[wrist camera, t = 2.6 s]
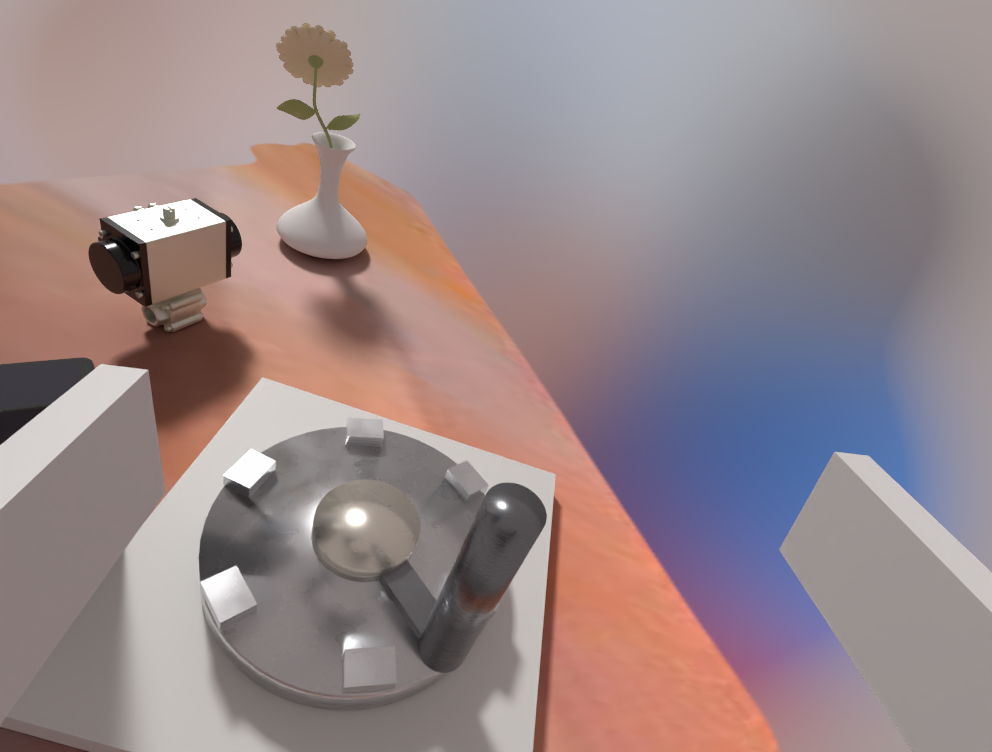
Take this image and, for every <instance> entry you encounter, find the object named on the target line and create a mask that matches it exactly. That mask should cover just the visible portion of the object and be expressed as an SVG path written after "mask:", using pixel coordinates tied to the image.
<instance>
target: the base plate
mask: <svg viewBox="0 0 992 752" xmlns="http://www.w3.org/2000/svg"><path fill="white" fill-rule="evenodd" d="M347 417H350V418H363V419H377V420H383V430H386V431H391V432H395V433H399V434H402V435H406V436H408V437H411V438H414V439H416V440H419V441H421V442H423V443H425V444H427V445H429V446H431V447H433V448H435V449H437V450H438V451H440V452H441V453H443V454H445V455H446V456H448V457H449V458H450V459H452V460H453V461H454V462H455V463H457V464H460V463H462V462H464V461H468V462H469V463H470V464H471V465H472V466H473V468H474V469H475V470H476V471H477V472H478V473H479V474H480V476H481V477H482V478H483V479H484V480H485V481H486V482H487V484H488V485H489V487H488V489H487V491H486V493H487V492H488V490H489V489H490V488H491V487H493V486H495V485H497V484H499V483H506V482H510V483H516V484H520V485H522V486H525V487H527V488H528V489H530V490H531V491H533V492H534V493H535V494H536V495H537V496H538V497H539V498H540V500H541V501H542V503H543V504H544V507H545V509H546V514H547V520H546V524H545V526H544V528H543V530H542V532H541V533H540V535H539V537H538V538H537V540H536V542H535V543H534V545H533V546H532V548H531V550H530V551H529V553H528V555H527V556H526V558H525V560H524V561H523V563H522V565H521V566H520V568H519V570H518V571H517V573H516V575H515V576H514V578H513V580H512V581H511V583H510V585H509V586H508V588H507V590H506V591H505V593H504V595H503V596H502V598H501V600H500V602H499V605H498V607H497V610H496V612H495V614H494V616H493V617H492V619H491V618H490V619H489V620H488V622H487V624H486V626H485V627H484V629H483V631H482V632H481V634H480V636H479V637H478V639H477V641H476V642H475V644H474V646H473V647H472V648H471V650H470V651H469V653H468V655H467V656H466V658H465V660H464V661H463V663H462V664H461V666H459V667H458V668H457V669H456V670H454V671H452V672H449V673H448V674H447V675H446V676H445V677H443V678H442V679H440V680H439V681H438V682H436V683H435V684H434V685H432V686H431V687H429V688H427V689H425V690H423V691H421V692H420V693H418V694H416V695H414V696H412V697H409V698H407V699H404V700H401V701H398V702H396V703H393V704H390V705H385V706H380V707H376V708H371V709H362V710H349V711H343V710H328V709H319V708H315V707H310V706H305V705H301V704H298V703H295V702H292V701H290V700H287V699H284V698H282V697H279V696H277V695H275V694H273V693H271V692H270V691H268V690H266V689H264V688H262V687H261V686H259V685H257V684H256V683H255V682H253V681H252V680H251V679H250V678H248V677H247V676H246V675H245V674H243V673H242V672H241V671H240V670H239V669H238V668H237V667H236V666H235V665H234V664H233V663H232V662H231V660H230V659H229V658H228V657H227V656H226V655H225V653H224V652H223V650H222V649H221V647H220V646H219V644H218V643H217V641H216V640H215V638H214V636H213V634H212V631H211V629H210V627H209V625H208V622H207V620H206V617H205V613H204V609H203V605H202V601H201V590H200V575H199V549H200V539H201V535H202V531H203V527H204V523H205V520H206V518H207V516H208V513H209V511H210V509H211V506H212V504H213V503H214V501H215V499H216V498H217V496H218V494H219V493H220V491H221V490H222V488H223V487H224V486H225V485H223V475H224V474H225V473H226V472H227V471H228V470H229V469H230V468H232V467H233V466H234V465H235V464H236V463H237V462H238V461H239V460H240V459H241V458H242V457H243V456H244V455H245V454H246V453H247V452H248V451H249V450H250V449H253V450H255V451H257V452H259V453H261V452H263V451H264V450H266V449H268V448H270V447H272V446H273V445H275V444H277V443H280V442H282V441H284V440H287V439H289V438H291V437H294V436H297V435H301V434H304V433H307V432H311V431H316V430H321V429H328V428H337V427H346V422H347ZM555 475H556V474H553V473H550V472H547V471H544V470H541V469H538V468H535V467H532V466H529V465H526V464H523V463H520V462H517V461H514V460H511V459H508V458H505V457H502V456H499V455H496V454H493V453H490V452H487V451H484V450H481V449H478V448H474V447H471V446H468V445H465V444H462V443H459V442H456V441H453V440H450V439H447V438H444V437H441V436H438V435H435V434H432V433H429V432H426V431H423V430H420V429H417V428H414V427H411V426H408V425H405V424H402V423H399V422H396V421H393V420H390V419H387V418H384V417H381V416H378V415H375V414H372V413H369V412H366V411H363V410H360V409H357V408H354V407H351V406H348V405H345V404H342V403H339V402H336V401H333V400H330V399H327V398H324V397H320V396H317V395H314V394H311V393H308V392H305V391H302V390H299V389H296V388H293V387H290V386H287V385H284V384H281V383H278V382H275V381H272V380H269V379H266V378H263V377H262V379H261V380H260V381H259V382H258V384H257V385H256V386H255V387H254V388H253V390H252V391H251V392H250V393H249V395H248V396H247V397H246V398H245V400H244V401H243V402H242V403H241V404H240V406H239V407H238V408H237V409H236V411H235V412H234V413H233V414H232V415H231V417H230V418H229V419H228V420H227V422H226V423H225V424H224V425H223V427H222V428H221V429H220V430H219V431H218V433H217V434H216V435H215V436H214V438H213V439H212V440H211V441H210V442H209V444H208V445H207V446H206V447H205V449H204V450H203V451H202V452H201V454H200V455H199V456H198V457H197V458H196V460H195V461H194V462H193V463H192V465H191V466H190V467H189V468H188V470H187V471H186V472H185V473H184V474H183V476H182V477H181V478H180V479H179V481H178V482H177V483H176V484H175V485H174V487H173V488H172V489H171V490H170V492H169V493H168V494H167V495H166V497H165V498H164V499H163V500H162V501H161V503H160V504H159V505H158V506H157V508H156V509H155V510H154V511H153V512H152V514H151V515H150V516H149V517H148V519H147V520H146V521H145V522H144V524H143V525H142V526H141V527H140V529H139V530H138V532H137V533H136V534H135V536H134V537H133V539H132V540H131V541H130V543H129V544H128V546H127V547H126V549H125V550H124V551H123V553H122V554H121V556H120V557H119V558H118V560H117V561H116V563H115V564H114V565H113V567H112V568H111V570H110V571H109V572H108V574H107V575H106V577H105V578H104V580H103V581H102V582H101V584H100V585H99V587H98V588H97V589H96V591H95V592H94V594H93V595H92V596H91V598H90V599H89V601H88V602H87V604H86V605H85V606H84V608H83V609H82V611H81V612H80V613H79V615H78V616H77V618H76V619H75V620H74V622H73V623H72V625H71V626H70V627H69V629H68V630H67V632H66V633H65V635H64V636H63V637H62V639H61V640H60V642H59V643H58V644H57V646H56V647H55V649H54V650H53V651H52V653H51V654H50V656H49V657H48V658H47V660H46V661H45V663H44V664H43V666H42V667H41V668H40V670H39V671H38V673H37V674H36V675H35V677H34V678H33V680H32V681H31V682H30V684H29V685H28V687H27V688H26V689H25V691H24V692H23V694H22V695H21V697H20V698H19V699H18V701H17V702H16V704H15V705H14V706H13V708H12V709H11V711H10V712H9V713H8V715H7V716H6V718H5V719H4V721H3V722H2V723H1V725H0V727H3V728H6V729H10V730H14V731H17V732H21V733H24V734H28V735H31V736H35V737H39V738H42V739H46V740H49V741H53V742H56V743H60V744H64V745H67V746H71V747H74V748H78V749H81V750H85V751H89V752H533V742H534V730H535V718H536V706H537V694H538V682H539V670H540V657H541V645H542V633H543V621H544V609H545V597H546V584H547V572H548V560H549V548H550V536H551V524H552V511H553V499H554V487H555ZM486 493H485V495H486Z"/></svg>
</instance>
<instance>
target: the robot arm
mask: <svg viewBox="0 0 992 752" xmlns="http://www.w3.org/2000/svg"><path fill="white" fill-rule="evenodd" d="M164 494H165V485H164V478H163V471H162V464H161V457H160V450H159V442H158V435H157V428H156V421H155V414H154V406H153V399H152V392H151V385H150V378H149V370H146V369H138V368H130V367H121V366H113V365H105V364H100V365H99V366H98V367H97V368H95V369H94V370H93V371H92V372H90V373H89V374H88V375H87V376H85V377H84V378H83V379H82V380H81V381H79V382H78V383H77V384H76V385H74V386H73V387H72V388H71V389H69V390H68V391H67V392H66V393H64V394H63V395H62V396H61V397H59V398H58V399H57V400H56V401H54V402H53V403H52V404H51V405H49V406H48V407H47V408H46V409H45V410H43V411H42V412H41V413H40V414H38V415H37V416H36V417H35V418H33V419H32V420H31V421H30V422H28V423H27V424H26V425H25V426H23V427H22V428H21V429H20V430H18V431H17V432H16V433H15V434H13V435H12V436H11V437H10V438H8V439H7V440H6V441H5V442H4V443H2V444H1V445H0V725H1V723H2V722H3V721H4V719H5V718H6V716H7V715H8V713H9V712H10V711H11V709H12V708H13V706H14V705H15V704H16V702H17V701H18V699H19V698H20V697H21V695H22V694H23V692H24V691H25V689H26V688H27V687H28V685H29V684H30V682H31V681H32V680H33V678H34V677H35V675H36V674H37V673H38V671H39V670H40V668H41V667H42V666H43V664H44V663H45V661H46V660H47V658H48V657H49V656H50V654H51V653H52V651H53V650H54V649H55V647H56V646H57V644H58V643H59V642H60V640H61V639H62V637H63V636H64V635H65V633H66V632H67V630H68V629H69V627H70V626H71V625H72V623H73V622H74V620H75V619H76V618H77V616H78V615H79V613H80V612H81V611H82V609H83V608H84V606H85V605H86V604H87V602H88V601H89V599H90V598H91V596H92V595H93V594H94V592H95V591H96V589H97V588H98V587H99V585H100V584H101V582H102V581H103V580H104V578H105V577H106V575H107V574H108V572H109V571H110V570H111V568H112V567H113V565H114V564H115V563H116V561H117V560H118V558H119V557H120V556H121V554H122V553H123V551H124V550H125V549H126V547H127V546H128V544H129V543H130V541H131V540H132V539H133V537H134V536H135V534H136V533H137V532H138V530H139V529H140V527H141V526H142V525H143V523H144V522H145V520H146V519H147V518H148V516H149V515H150V513H151V512H152V510H153V509H154V508H155V506H156V505H157V503H158V502H159V501H160V499H161V498H162V496H163V495H164ZM780 552H781V553H782V555H783V556H784V558H785V559H786V561H787V562H788V564H789V565H790V567H791V568H792V570H793V571H794V573H795V574H796V576H797V577H798V579H799V580H800V582H801V584H802V585H803V587H804V588H805V590H806V591H807V593H808V594H809V596H810V597H811V599H812V600H813V602H814V603H815V605H816V606H817V608H818V609H819V610H820V612H821V614H822V615H823V617H824V618H825V620H826V621H827V623H828V624H829V626H830V627H831V629H832V630H833V632H834V633H835V635H836V636H837V638H838V639H839V641H840V642H841V644H842V646H843V647H844V649H845V650H846V652H847V653H848V655H849V656H850V658H851V659H852V661H853V662H854V664H855V665H856V667H857V668H858V670H859V671H860V673H861V674H862V676H863V677H864V679H865V680H866V682H867V683H868V685H869V686H870V688H871V689H872V691H873V692H874V694H875V695H876V697H877V698H878V700H879V701H880V703H881V705H882V706H883V708H884V709H885V710H886V712H887V714H888V715H889V717H890V718H891V720H892V721H893V723H894V724H895V726H896V727H897V729H898V730H899V732H900V733H901V735H902V736H903V738H904V739H905V741H906V742H907V744H908V745H909V747H910V748H911V750H912V751H913V752H992V572H990V571H989V570H988V569H987V568H986V567H985V566H984V565H983V564H982V563H981V562H980V561H979V560H978V559H977V558H976V557H975V556H974V555H972V554H971V553H970V552H969V551H968V550H967V549H966V548H965V547H964V546H963V545H962V544H961V543H960V542H959V541H958V540H957V539H956V538H955V537H954V536H952V535H951V534H950V533H949V532H948V531H947V530H946V529H945V528H944V527H943V526H942V525H941V524H940V523H939V522H938V521H937V520H936V519H935V518H933V517H932V516H931V515H930V514H929V513H928V512H927V511H926V510H925V509H924V508H923V507H922V506H921V505H920V504H919V503H918V502H917V501H916V500H914V499H913V498H912V497H911V496H910V495H909V494H908V493H907V492H906V491H905V490H904V489H903V488H902V487H901V486H900V485H899V484H897V482H895V481H894V480H893V479H892V478H891V477H890V476H889V475H888V474H887V473H886V472H885V471H884V470H883V469H882V468H880V466H879V465H878V464H876V463H875V462H874V461H873V460H872V459H871V458H870V457H869V456H865V455H856V454H849V453H840V452H834V454H833V456H832V457H831V459H830V461H829V463H828V464H827V466H826V468H825V470H824V472H823V473H822V475H821V477H820V479H819V480H818V482H817V484H816V486H815V487H814V489H813V491H812V493H811V494H810V496H809V498H808V500H807V501H806V503H805V505H804V507H803V508H802V510H801V512H800V514H799V516H798V517H797V519H796V521H795V523H794V525H793V526H792V528H791V530H790V531H789V533H788V535H787V537H786V538H785V540H784V542H783V544H782V545H781V547H780Z"/></svg>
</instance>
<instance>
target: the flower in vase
mask: <svg viewBox="0 0 992 752" xmlns="http://www.w3.org/2000/svg"><path fill="white" fill-rule="evenodd" d="M335 36H336V35H335V33H334V32H333V31H331V30H330V31H327V32H326V31H324V29H323V28H322V27H321V26H320V25H316V26H315V27H311V26H310V24H308V23H304V24H303V25H302V27H299V28H298V27H297V26H292V27H291V30H290V29H287V30H286V31H285V35H283V36H282V37H281V41H282V43H277V44H276V47H277V51H278V52H279V53H280V54H281V55H279V58H280V59H281V60H282V61H283V62H285V63H284V65H283V66H284V68H285V69H286V70H287V71H288V72H290V73H291V74H292V75H293V76H294V77H295V78H301V77H303V82H304V83H306V84H310V85H313V86H314V88H313V106H314V109H313V108H311V107H310V106H308V105H307V104H305V103H303V102H302V101H300V100H295V99H293V100H288V101H285V102H284V103H282V104H281V105H279V106H278V107H277V109H279V110H281V111H284V112H286V113H288V114H291V115H293V116H295V117H297V118H299V119H302V120H305V119H308V118H310V117H311V116H313V115H314V114H315V113H316V115H317V117H318V120H319V122H320V124H321V125H322V127H323V129H324V132H318V133H314V134H313V135H312V139H313V141H314V143H315V144H316V147H317V149H318V152H319V157H320V184H319V189H318V192H317V194H316V196H315V197H314V198H313V199H312V200H309V201H307V202H305V203H302V204H300V205H298V206H295V207H293V208H291V209H290V210H288V211H287V212H285V213H284V214H283V215H282V216H281V217H280V219H279V221H278V223H277V226H276V227H277V231H278V233H279V235H280V236H281V238H282V239H283V241H284V242H285V243H286V244H288V245H289V246H290V247H292V248H294V249H295V250H297V251H300V252H302V253H305V254H307V255H311V256H315V257H319V258H326V259H344V258H349V257H353V256H355V255H357V254H359V253H360V252H361V251H362V250H363V249H364V248H365V247H366V245H367V236H366V233H365V230H364V229H363V227H362V226H361V225H360V223H359V222H358V221H357V220H356V219H355V218H354V217H353V216H352V215H351V214H350V213H349V212H348V211H347V210H346V209H345V208H344V207H343V206H342V205H341V204H340V202H339V199H338V184H339V179H340V174H341V170H342V167H343V164H344V162H345V160H346V158H347V156H348V155H349V154H350V153H351V152H352V151H353V150H354V149H355V148H356V145H355V143H354V142H352V141H351V140H350V139H348V138H346V137H343V136H340V135H337V134H333V133H328V131H327V129H326V127H325V125H324V123H323V121H322V119H321V117H320V116H319V113H318V110H317V107H316V87H321V86H322V85H324V86H325V87H331V86H332V85H339V86H340V85H342V84H343V80H346V79H348V77H349V76H348V75H349V74H352V73H353V69H352V67H353V63H352V59H351V58H350V57H349V56H350V55H351V52H350V51H349V50H348V49H347V43H346V42H343V41H342V42H341V41H340V40H338V39H335ZM314 110H315V111H314ZM359 116H360V114H357V115H348V116H337V117H335V118H334V119H333V120H332V121H331V122H330V123H329V124H328V126H327V128H328V129H330V130H344V129H347V128H349V127H351V126H352V125H353V124H354V123H355V122H356V121H357V120H358V118H359Z"/></svg>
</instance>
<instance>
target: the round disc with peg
mask: <svg viewBox="0 0 992 752" xmlns="http://www.w3.org/2000/svg"><path fill="white" fill-rule="evenodd" d="M223 485H225V486H224V487H223V488H222V490H221V491H220V493H219V494H218V496H217V498H216V499H215V501H214V503H213V504H212V506H211V509H210V511H209V513H208V516H207V518H206V520H205V523H204V527H203V531H202V535H201V539H200V549H199V575H200V590H201V601H202V605H203V609H204V613H205V617H206V620H207V622H208V625H209V627H210V629H211V631H212V634H213V636H214V638H215V640H216V641H217V643H218V644H219V646H220V647H221V649H222V650H223V652H224V653H225V655H226V656H227V657H228V658H229V659H230V660H231V662H232V663H233V664H234V665H235V666H236V667H237V668H238V669H239V670H240V671H241V672H242V673H243V674H245V675H246V676H247V677H248V678H250V679H251V680H252V681H253V682H255V683H256V684H257V685H259V686H261V687H262V688H264V689H266V690H268V691H270V692H271V693H273V694H275V695H277V696H279V697H282V698H284V699H287V700H290V701H292V702H295V703H298V704H301V705H305V706H310V707H315V708H319V709H328V710H343V711H349V710H362V709H371V708H376V707H380V706H385V705H390V704H393V703H396V702H398V701H401V700H404V699H407V698H409V697H412V696H414V695H416V694H418V693H420V692H421V691H423V690H425V689H427V688H429V687H431V686H432V685H434V684H435V683H436V682H438V681H439V680H440V679H442V678H443V677H445V676H446V675H447V674H448V673H449V672H452V671H454V670H456V669H457V668H458V667H459V666H461V664H462V663H463V661H464V660H465V658H466V656H467V655H468V653H469V651H470V650H471V648H472V647H473V646H474V644H475V642H476V641H477V639H478V637H479V636H480V634H481V632H482V631H483V629H484V627H485V626H486V624H487V622H488V620H489V619H490V618H491V619H492V617H493V616H494V614H495V612H496V610H497V607H498V605H499V602H500V600H501V598H502V596H503V595H504V593H505V591H506V590H507V588H508V586H509V585H510V583H511V581H512V580H513V578H514V576H515V575H516V573H517V571H518V570H519V568H520V566H521V565H522V563H523V561H524V560H525V558H526V556H527V555H528V553H529V551H530V550H531V548H532V546H533V545H534V543H535V542H536V540H537V538H538V537H539V535H540V533H541V532H542V530H543V528H544V526H545V524H546V520H547V514H546V509H545V507H544V504H543V503H542V501H541V500H540V498H539V497H538V496H537V495H536V494H535V493H534V492H533V491H531V490H530V489H528V488H527V487H525V486H522V485H520V484H516V483H510V482H506V483H499V484H497V485H495V486H493V487H491V488H490V489H489V490H488V492H487V493H486V491H487V489H488V487H489V485H488V484H487V482H486V481H485V480H484V479H483V478H482V477H481V476H480V474H479V473H478V472H477V471H476V470H475V469H474V468H473V466H472V465H471V464H470V463H469V462H468V461H464V462H462V463H460V464H457V463H455V462H454V461H453V460H452V459H450V458H449V457H448V456H446V455H445V454H443V453H441V452H440V451H438V450H437V449H435V448H433V447H431V446H429V445H427V444H425V443H423V442H421V441H419V440H416V439H414V438H411V437H408V436H406V435H402V434H399V433H395V432H391V431H386V430H383V420H377V419H363V418H350V417H347V422H346V427H337V428H328V429H321V430H316V431H311V432H307V433H304V434H301V435H297V436H294V437H291V438H289V439H287V440H284V441H282V442H280V443H277V444H275V445H273V446H272V447H270V448H268V449H266V450H264V451H263V452H261V453H259V452H257V451H255V450H253V449H250V450H249V451H248V452H247V453H246V454H245V455H244V456H243V457H242V458H241V459H240V460H239V461H238V462H237V463H236V464H235V465H234V466H233V467H232V468H230V469H229V470H228V471H227V472H226V473H225V474H224V475H223ZM485 493H486V495H485Z"/></svg>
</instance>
